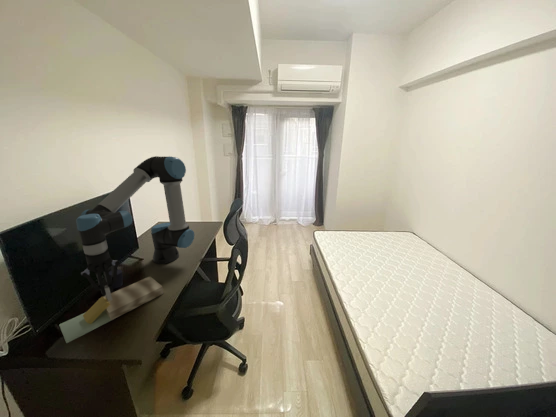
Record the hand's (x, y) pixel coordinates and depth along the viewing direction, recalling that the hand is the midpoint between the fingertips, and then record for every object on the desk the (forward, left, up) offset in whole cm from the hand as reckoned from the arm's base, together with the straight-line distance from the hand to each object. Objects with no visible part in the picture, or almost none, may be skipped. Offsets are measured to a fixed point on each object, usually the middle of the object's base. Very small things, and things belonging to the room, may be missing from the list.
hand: (109, 299), depth 96 cm
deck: (-9, 0, -6) cm, 10 cm away
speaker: (-8, -19, -6) cm, 21 cm away
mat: (+9, 0, -6) cm, 11 cm away
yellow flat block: (+4, 0, -3) cm, 5 cm away
